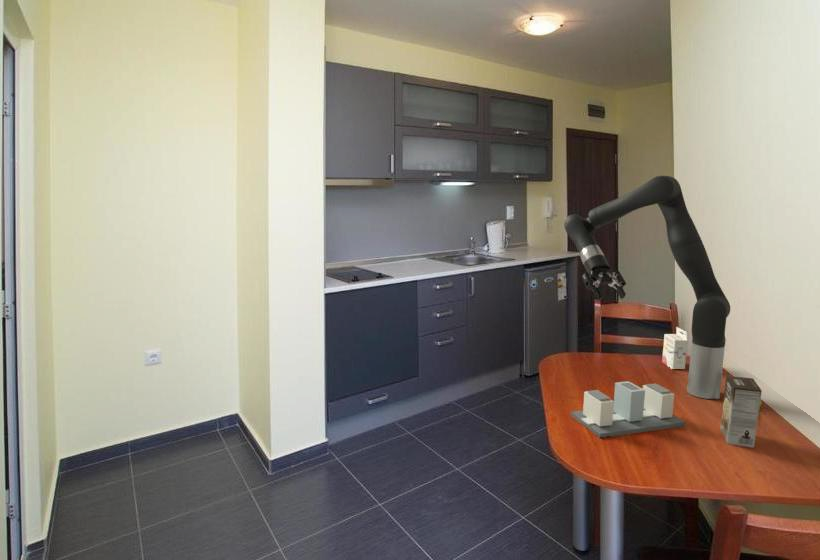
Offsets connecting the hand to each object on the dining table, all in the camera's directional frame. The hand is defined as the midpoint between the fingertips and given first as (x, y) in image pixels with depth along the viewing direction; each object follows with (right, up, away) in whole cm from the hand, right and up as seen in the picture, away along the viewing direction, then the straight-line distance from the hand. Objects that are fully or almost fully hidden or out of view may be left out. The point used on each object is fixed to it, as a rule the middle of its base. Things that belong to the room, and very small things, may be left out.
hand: (612, 298), depth 164 cm
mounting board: (-5, -35, -23) cm, 42 cm away
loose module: (-5, -34, -23) cm, 41 cm away
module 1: (-15, -34, -25) cm, 45 cm away
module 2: (+4, -33, -21) cm, 39 cm away
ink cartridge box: (+33, -27, +23) cm, 48 cm away
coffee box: (+20, -37, -33) cm, 53 cm away
